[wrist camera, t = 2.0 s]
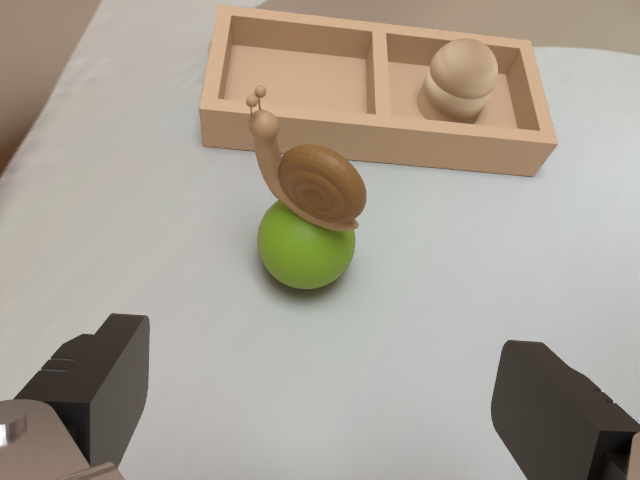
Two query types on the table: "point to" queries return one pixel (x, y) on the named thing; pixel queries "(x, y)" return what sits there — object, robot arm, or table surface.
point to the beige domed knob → (458, 82)
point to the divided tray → (367, 93)
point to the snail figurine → (305, 206)
